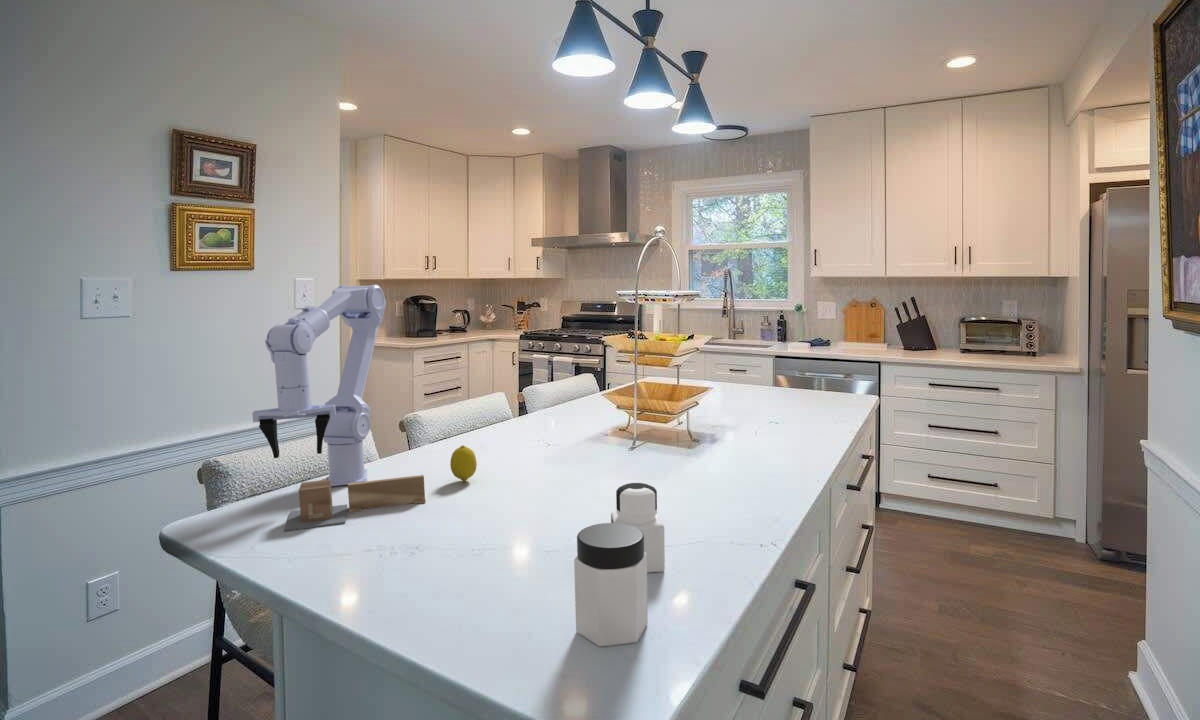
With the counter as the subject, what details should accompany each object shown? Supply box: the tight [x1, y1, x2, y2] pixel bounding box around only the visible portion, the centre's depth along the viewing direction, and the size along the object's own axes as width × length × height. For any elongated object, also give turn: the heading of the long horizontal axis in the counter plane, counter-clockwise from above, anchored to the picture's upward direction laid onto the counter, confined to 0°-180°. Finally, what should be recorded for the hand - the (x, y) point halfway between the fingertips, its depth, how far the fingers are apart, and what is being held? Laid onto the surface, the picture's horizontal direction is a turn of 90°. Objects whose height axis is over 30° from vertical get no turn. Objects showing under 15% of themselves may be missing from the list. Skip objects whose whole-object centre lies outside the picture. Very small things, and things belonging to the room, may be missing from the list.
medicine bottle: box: [610, 482, 666, 574], centre depth 97 cm, size 7×7×12 cm
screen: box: [347, 474, 426, 513], centre depth 126 cm, size 3×14×5 cm, turn 109°
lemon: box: [449, 445, 478, 483], centre depth 140 cm, size 6×6×8 cm
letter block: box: [298, 479, 333, 523], centre depth 120 cm, size 5×5×6 cm
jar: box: [573, 522, 649, 648], centre depth 79 cm, size 9×8×12 cm
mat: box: [283, 503, 348, 532], centre depth 120 cm, size 10×10×1 cm
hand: (298, 454), depth 127 cm, fingers open, 7 cm apart
